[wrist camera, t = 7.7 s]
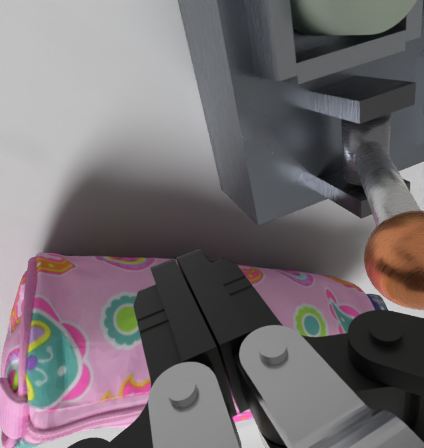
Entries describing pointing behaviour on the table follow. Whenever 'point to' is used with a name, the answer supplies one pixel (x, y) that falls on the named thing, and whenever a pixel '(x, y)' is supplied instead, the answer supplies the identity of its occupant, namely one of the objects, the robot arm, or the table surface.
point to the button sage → (347, 16)
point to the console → (299, 101)
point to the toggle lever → (386, 213)
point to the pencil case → (121, 339)
